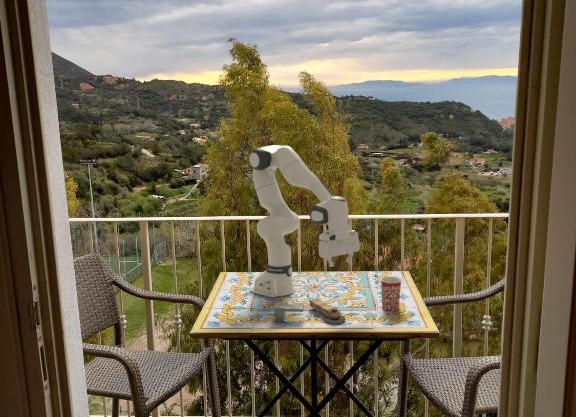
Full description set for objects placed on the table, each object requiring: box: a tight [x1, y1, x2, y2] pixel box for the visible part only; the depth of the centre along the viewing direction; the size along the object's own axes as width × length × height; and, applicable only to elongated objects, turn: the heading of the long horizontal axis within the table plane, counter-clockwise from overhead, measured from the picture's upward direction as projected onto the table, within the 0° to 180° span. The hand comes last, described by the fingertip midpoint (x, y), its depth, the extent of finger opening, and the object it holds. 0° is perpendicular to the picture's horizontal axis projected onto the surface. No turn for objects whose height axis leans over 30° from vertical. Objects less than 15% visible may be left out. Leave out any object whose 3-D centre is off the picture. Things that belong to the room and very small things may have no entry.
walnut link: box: [309, 298, 341, 320], centre depth 230 cm, size 20×5×4 cm, turn 29°
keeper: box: [273, 301, 305, 323], centre depth 225 cm, size 12×7×6 cm, turn 84°
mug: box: [380, 276, 403, 312], centre depth 236 cm, size 13×9×14 cm
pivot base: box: [323, 314, 346, 325], centre depth 224 cm, size 9×9×1 cm
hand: (340, 264), depth 233 cm, fingers open, 8 cm apart
